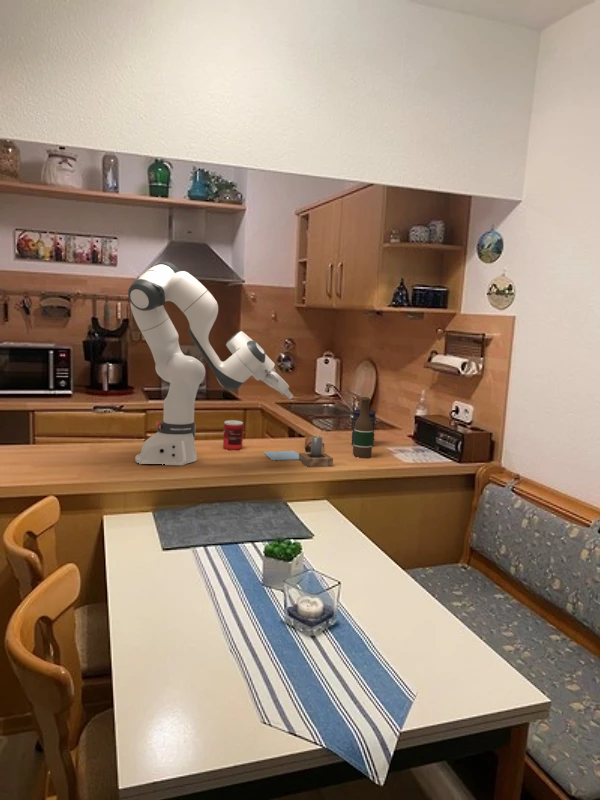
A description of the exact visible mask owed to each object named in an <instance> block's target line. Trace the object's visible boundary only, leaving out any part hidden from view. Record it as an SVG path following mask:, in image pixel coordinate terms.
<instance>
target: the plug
mask: <svg viewBox="0 0 600 800" xmlns="http://www.w3.org/2000/svg"><path fill="white" fill-rule="evenodd" d="M322 442H323V437H322V436H319V434H317V433H315V436H312V440H311V452H310V453H311V458H321V452H322Z"/></svg>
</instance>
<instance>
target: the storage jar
mask: <svg viewBox="0 0 600 800" xmlns="http://www.w3.org/2000/svg"><path fill="white" fill-rule="evenodd" d="M352 412H353V415H352V424H353V425H352V432H351V445H352V446H353V440H354V427H355V423H356V420H357V419H358V418H359V415H360V409H354V410H353V411H352ZM376 413H377V411H374V410H370V409H369V416H370V419H371V421H372V424H373V440H372V446H373V447H374V443H375V424H376Z"/></svg>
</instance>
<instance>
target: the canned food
mask: <svg viewBox="0 0 600 800" xmlns="http://www.w3.org/2000/svg"><path fill="white" fill-rule="evenodd" d="M243 436H244V422H243V421H241V420H236V419H235V420H232V419H231V420H229V419H228V420H224V422H223V444H222V445H223V449H224V450H226V449H227V451H232V450H236V451H240V449H241V450H242V448H243V440H244V439H243V438H244V437H243Z"/></svg>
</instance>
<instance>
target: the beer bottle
mask: <svg viewBox="0 0 600 800" xmlns="http://www.w3.org/2000/svg"><path fill="white" fill-rule="evenodd" d="M360 400H361V403H360V409H359V410H360V415H359V418H358V419H357V420H356V423H355V427H354V440H353V445H352V455H354V456H355V457H354V456H353V457H354V458H357V457H359V458H358V459H369V458H368V457H370V458H372V453H373V447H372V440H373V424H372V421H371V419H370V416H369V410H370V401H371V398H370V397H369V396H363V397H361V398H360Z"/></svg>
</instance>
